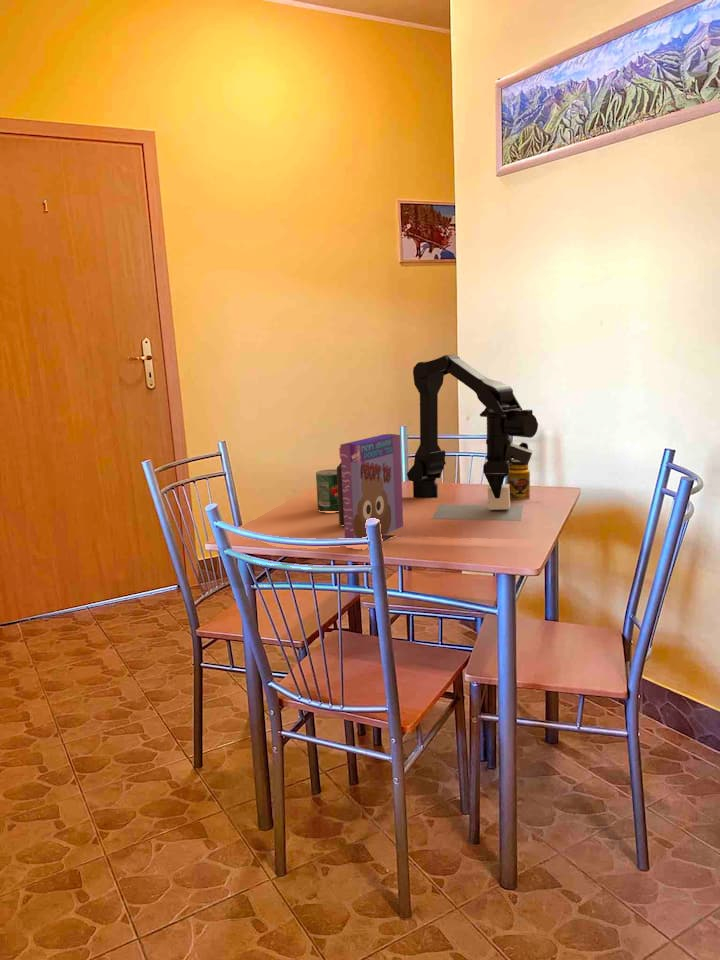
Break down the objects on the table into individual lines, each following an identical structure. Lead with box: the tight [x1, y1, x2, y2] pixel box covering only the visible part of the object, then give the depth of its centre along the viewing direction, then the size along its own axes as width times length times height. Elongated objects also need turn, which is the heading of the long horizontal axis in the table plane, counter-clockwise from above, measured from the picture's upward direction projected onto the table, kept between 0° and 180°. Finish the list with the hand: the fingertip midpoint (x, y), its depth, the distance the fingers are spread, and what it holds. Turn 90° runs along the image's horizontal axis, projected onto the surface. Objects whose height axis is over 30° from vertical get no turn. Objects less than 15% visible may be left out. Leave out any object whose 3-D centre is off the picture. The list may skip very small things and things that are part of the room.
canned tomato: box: [315, 469, 339, 511], centre depth 198 cm, size 8×8×11 cm
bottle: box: [336, 447, 344, 525], centre depth 180 cm, size 7×7×20 cm
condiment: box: [506, 459, 537, 503], centre depth 198 cm, size 7×8×12 cm
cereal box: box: [339, 433, 404, 542], centre depth 165 cm, size 17×5×24 cm, turn 145°
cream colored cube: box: [487, 483, 511, 510], centre depth 184 cm, size 5×5×6 cm
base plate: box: [431, 503, 524, 522], centre depth 183 cm, size 22×16×2 cm
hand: (498, 494), depth 184 cm, fingers open, 8 cm apart
